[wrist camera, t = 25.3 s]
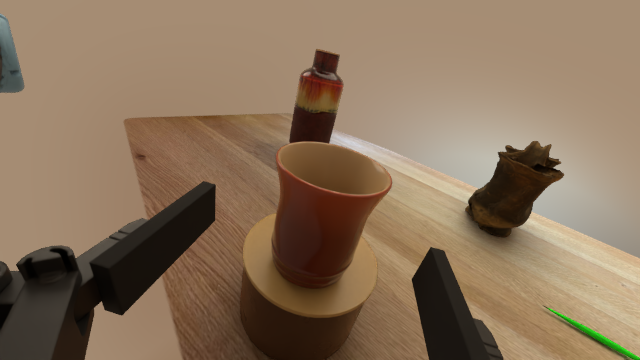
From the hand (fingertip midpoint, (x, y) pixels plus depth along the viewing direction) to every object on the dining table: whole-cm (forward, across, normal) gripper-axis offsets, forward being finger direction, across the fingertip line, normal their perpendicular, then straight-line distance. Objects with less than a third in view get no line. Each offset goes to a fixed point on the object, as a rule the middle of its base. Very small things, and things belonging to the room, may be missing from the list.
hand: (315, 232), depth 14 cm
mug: (+7, 0, -8) cm, 10 cm away
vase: (+51, -9, -16) cm, 54 cm away
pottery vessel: (+39, +37, -16) cm, 56 cm away
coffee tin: (+7, 0, -16) cm, 17 cm away
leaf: (+14, +40, -16) cm, 46 cm away
